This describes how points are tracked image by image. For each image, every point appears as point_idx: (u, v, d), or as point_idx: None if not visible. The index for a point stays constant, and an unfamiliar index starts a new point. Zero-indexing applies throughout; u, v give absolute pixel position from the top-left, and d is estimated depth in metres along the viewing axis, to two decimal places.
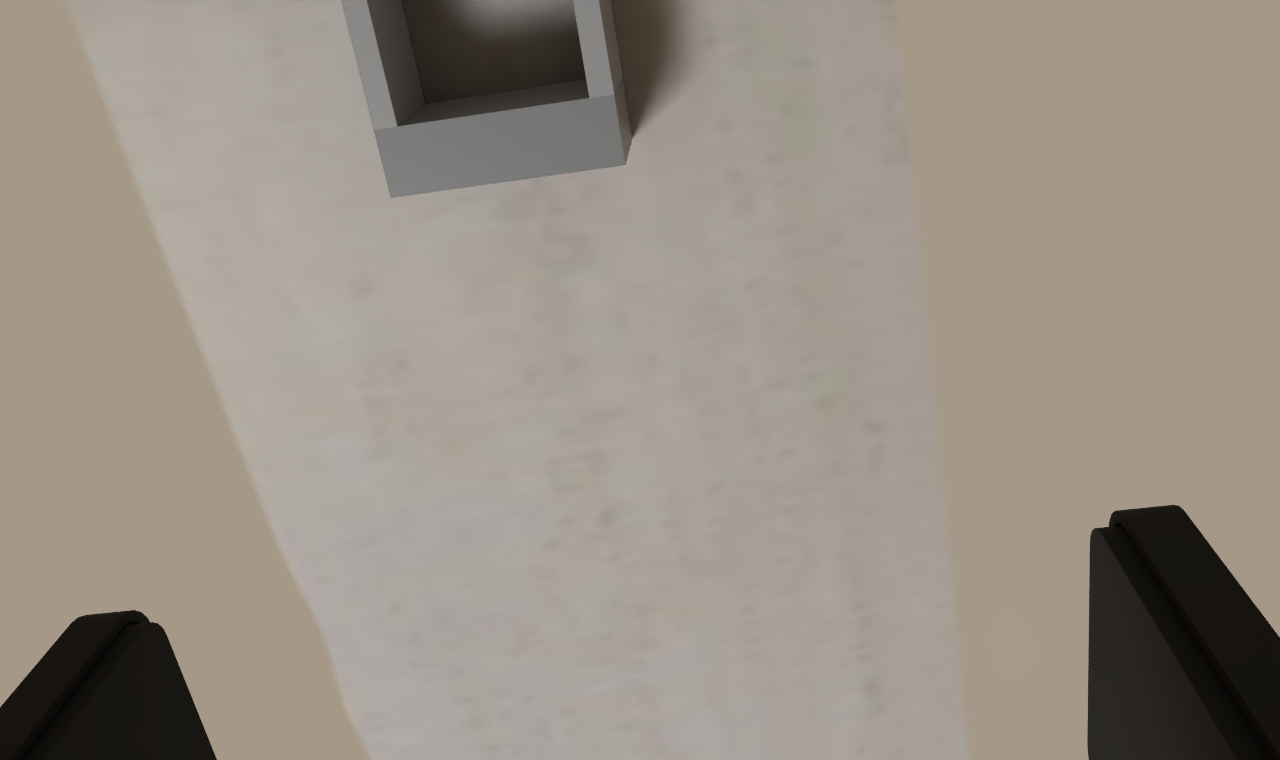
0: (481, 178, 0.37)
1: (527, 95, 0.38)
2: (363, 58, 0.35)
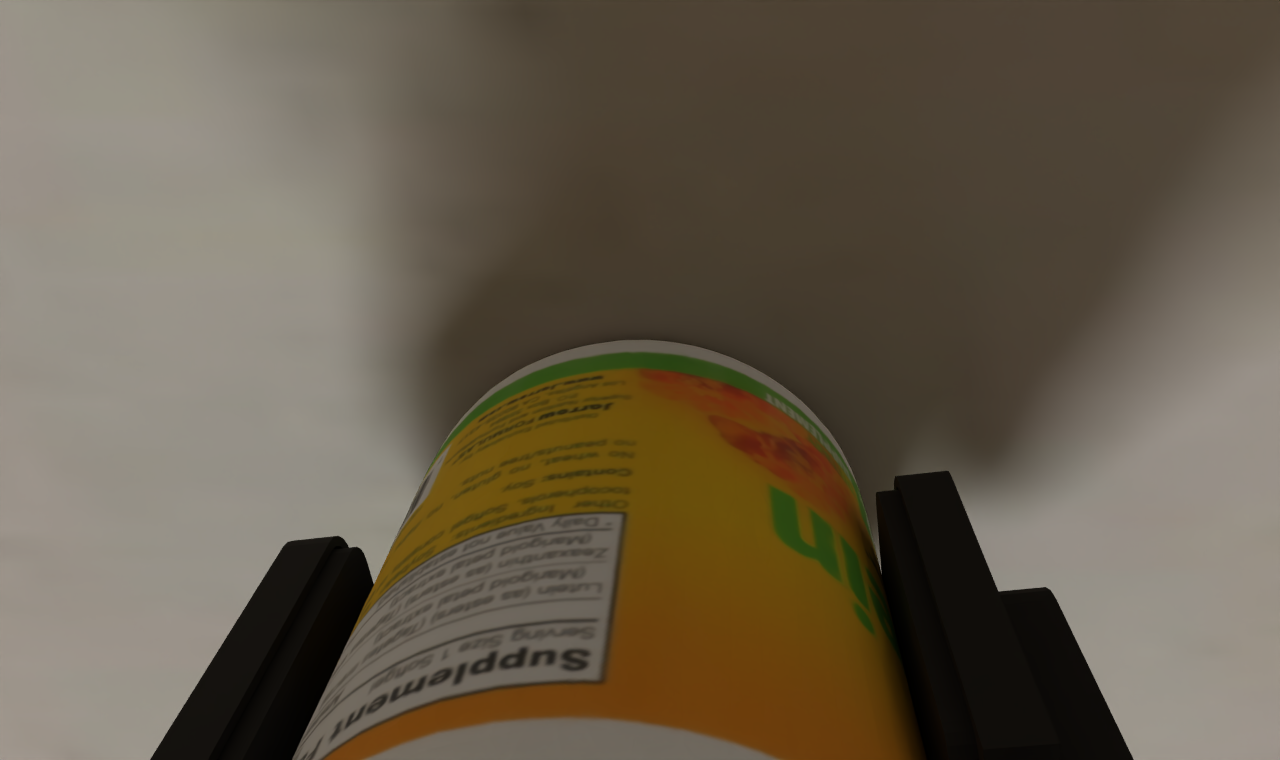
0: None
1: None
2: None
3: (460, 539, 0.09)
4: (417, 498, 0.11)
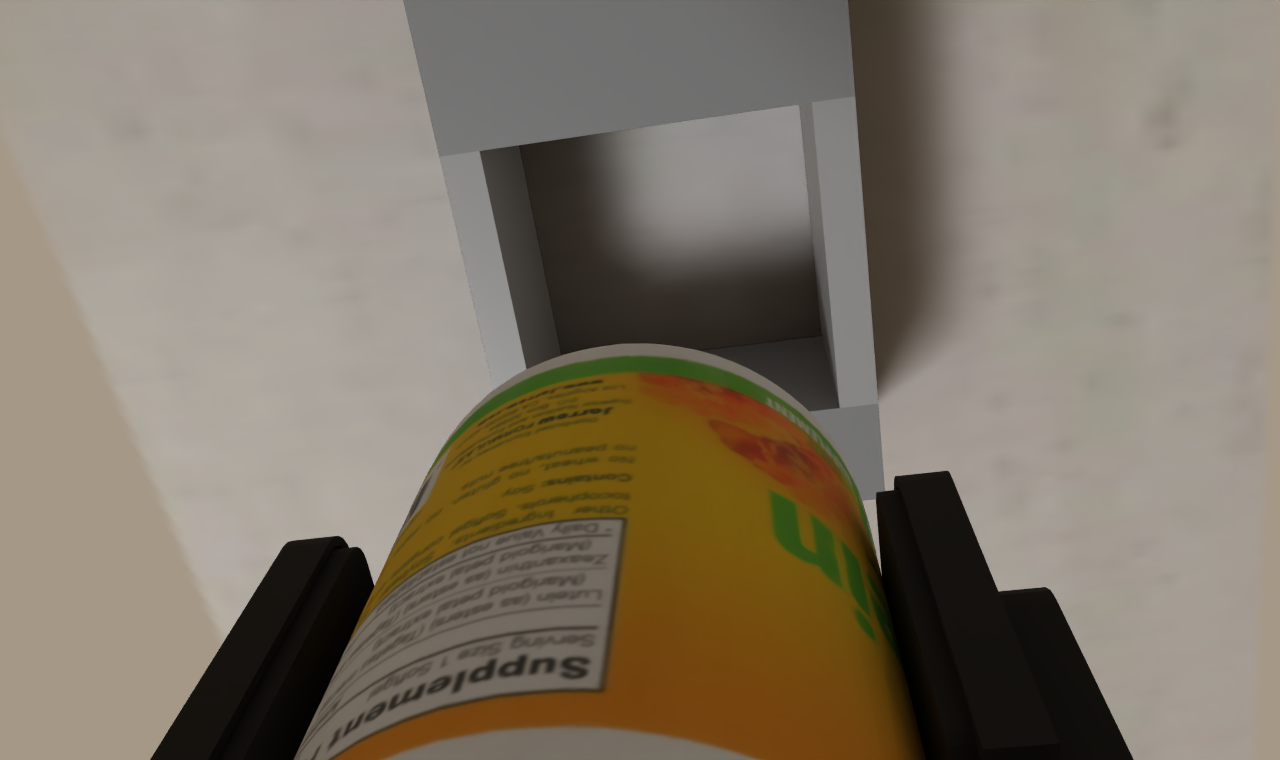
0: None
1: None
2: (495, 350, 0.23)
3: (459, 544, 0.09)
4: (416, 502, 0.11)
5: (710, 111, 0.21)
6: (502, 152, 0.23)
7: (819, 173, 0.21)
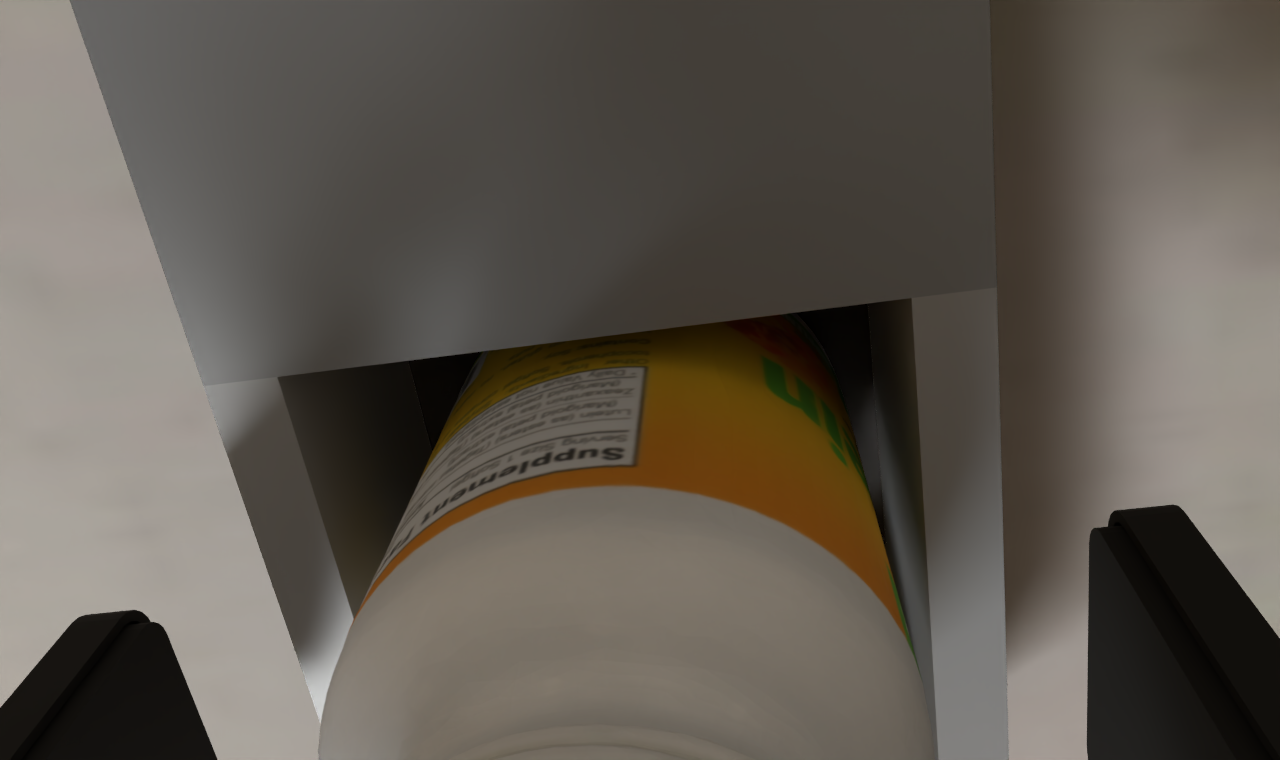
0: None
1: None
2: None
3: (512, 392, 0.11)
4: (467, 382, 0.14)
5: (713, 311, 0.11)
6: None
7: (920, 422, 0.11)
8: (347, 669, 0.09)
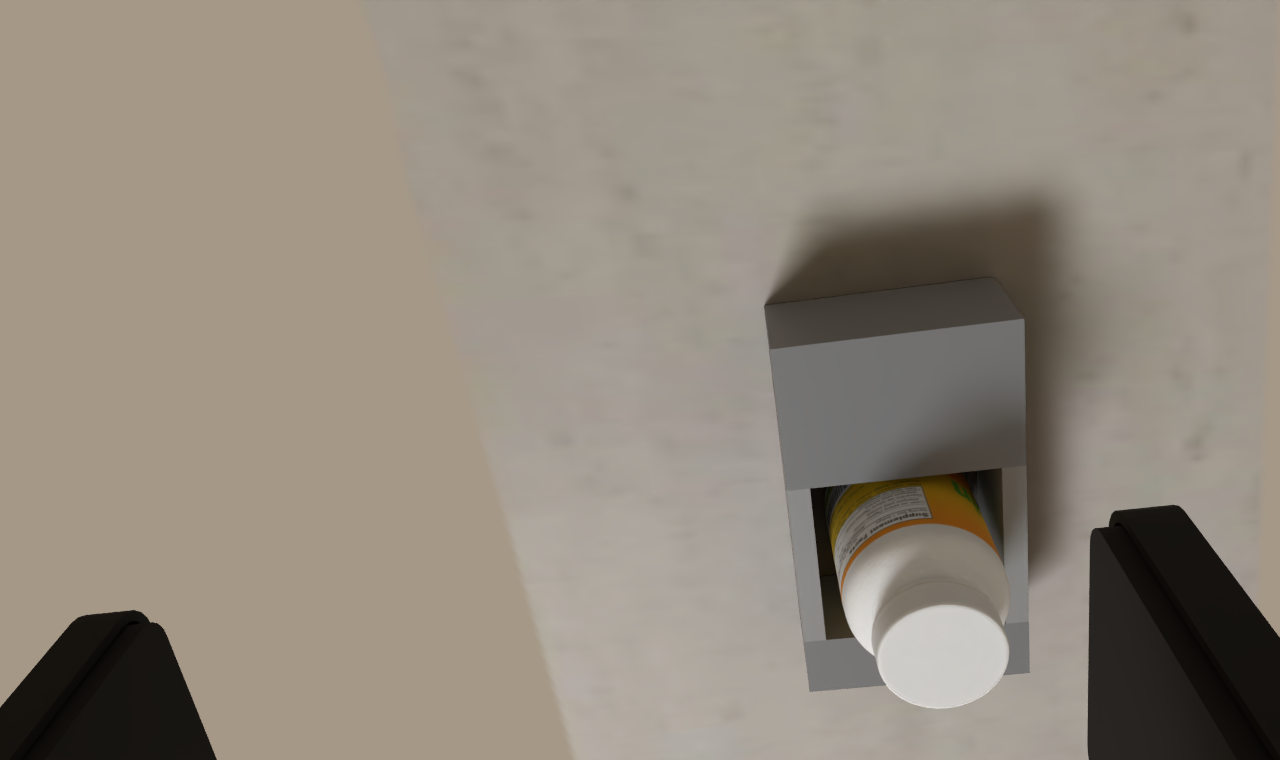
0: None
1: None
2: (805, 590, 0.40)
3: (879, 493, 0.38)
4: None
5: (944, 471, 0.37)
6: None
7: (1003, 502, 0.38)
8: (862, 570, 0.35)
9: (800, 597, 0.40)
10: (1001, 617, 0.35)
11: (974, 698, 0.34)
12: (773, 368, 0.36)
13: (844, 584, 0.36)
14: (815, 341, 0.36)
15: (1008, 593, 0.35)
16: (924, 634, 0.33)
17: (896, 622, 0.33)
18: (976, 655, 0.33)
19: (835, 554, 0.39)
